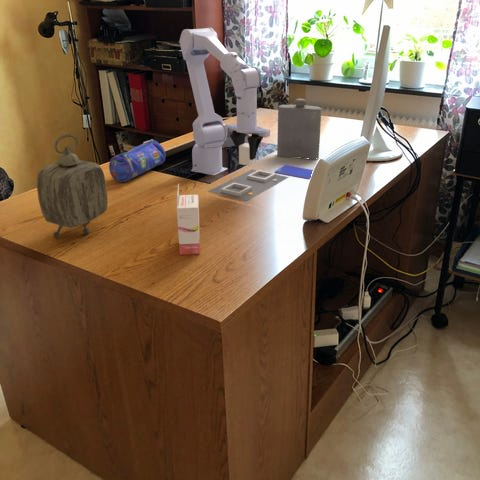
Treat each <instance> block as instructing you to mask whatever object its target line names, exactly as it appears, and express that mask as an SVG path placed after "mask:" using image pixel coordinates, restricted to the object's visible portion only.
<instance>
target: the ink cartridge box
mask: <svg viewBox="0 0 480 480" xmlns="http://www.w3.org/2000/svg"><path fill="white" fill-rule="evenodd" d="M179 187H180V183H178V184H177V192H176V219H177V234H178V246H179V247H178V249H179V255H181V256H183V255H200V254H201V253H200V208H199V207H200V206H199V205H200V203H199V202H200V201H199V194H181V195H180V194H179V190H180V188H179Z"/></svg>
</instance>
